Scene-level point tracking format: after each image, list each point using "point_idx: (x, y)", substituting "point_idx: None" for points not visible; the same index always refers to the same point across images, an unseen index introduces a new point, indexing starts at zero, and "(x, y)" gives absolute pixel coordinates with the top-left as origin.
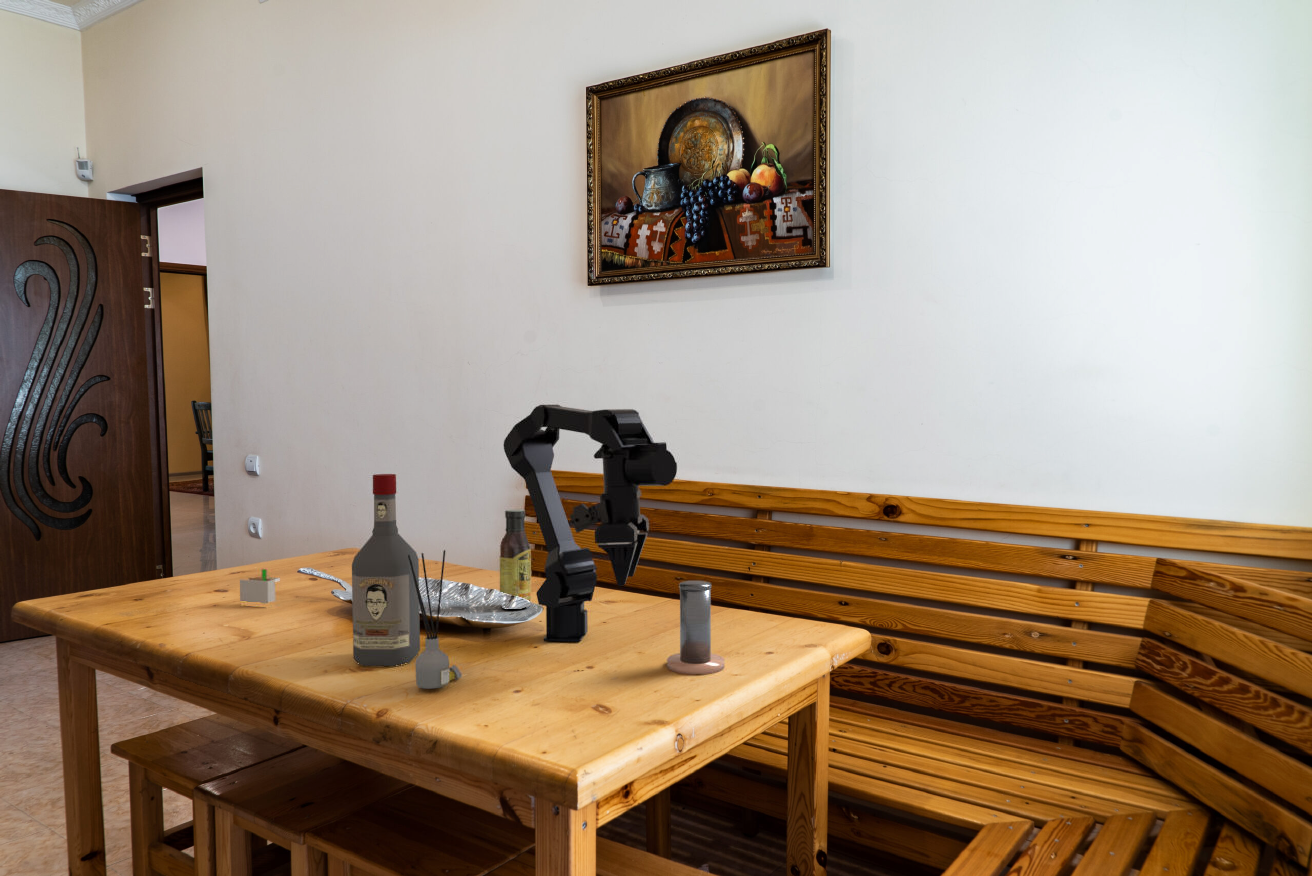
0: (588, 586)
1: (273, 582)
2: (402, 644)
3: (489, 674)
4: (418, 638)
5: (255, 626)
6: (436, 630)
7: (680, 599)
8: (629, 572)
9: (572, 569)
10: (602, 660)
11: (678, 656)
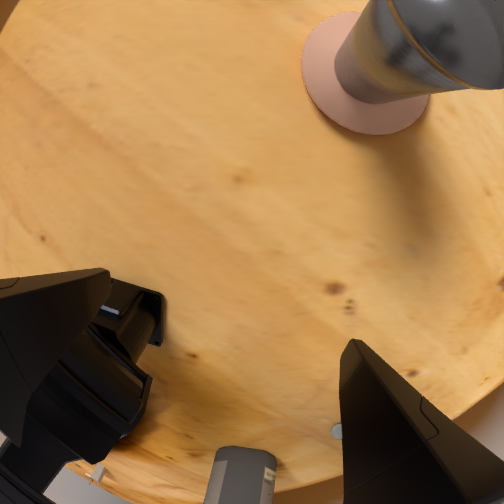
0: (92, 346)
1: (92, 476)
2: (269, 471)
3: (330, 403)
4: (232, 461)
5: (150, 481)
6: None
7: (445, 89)
8: (101, 291)
9: (109, 420)
10: (293, 263)
11: (340, 101)
